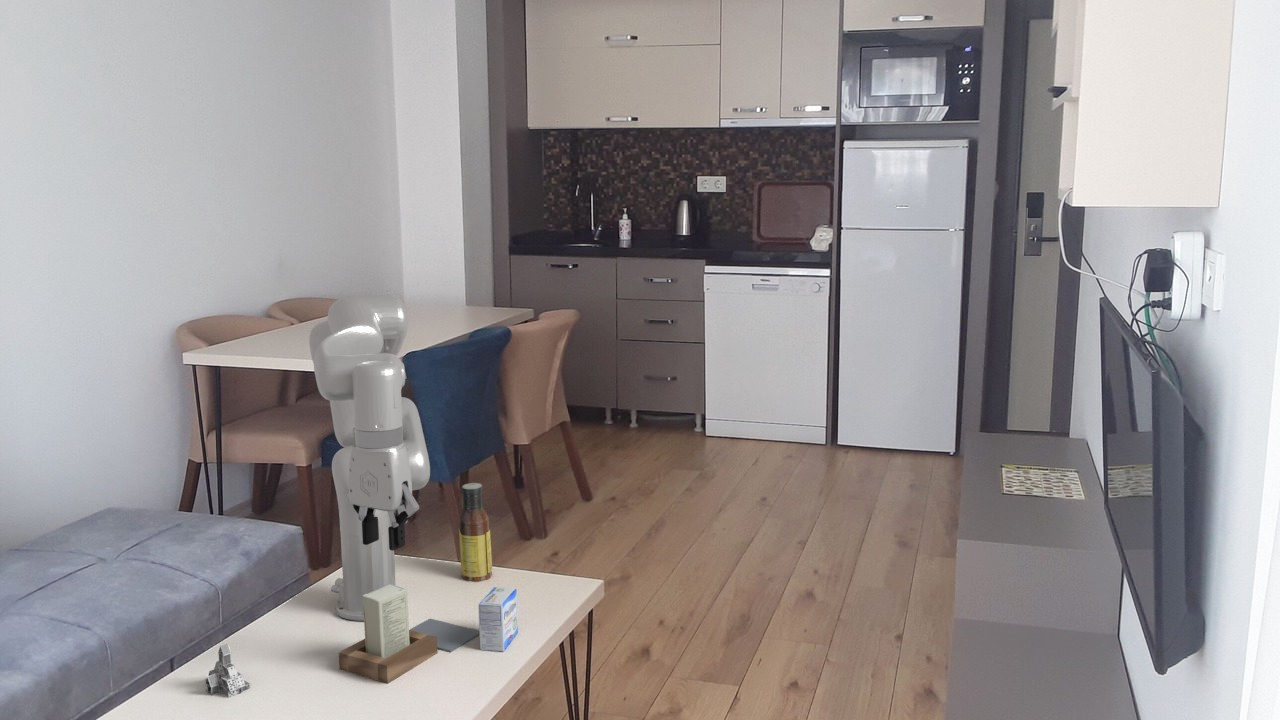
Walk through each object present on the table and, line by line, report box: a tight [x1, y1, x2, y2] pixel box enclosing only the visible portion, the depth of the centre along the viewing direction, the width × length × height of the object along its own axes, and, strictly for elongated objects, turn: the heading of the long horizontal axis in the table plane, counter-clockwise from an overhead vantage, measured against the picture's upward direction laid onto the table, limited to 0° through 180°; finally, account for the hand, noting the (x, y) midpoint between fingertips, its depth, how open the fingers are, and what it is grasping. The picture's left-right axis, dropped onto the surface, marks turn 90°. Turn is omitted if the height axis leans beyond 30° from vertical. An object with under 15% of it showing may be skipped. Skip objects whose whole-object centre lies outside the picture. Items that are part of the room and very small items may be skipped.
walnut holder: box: [338, 629, 439, 684], centre depth 176 cm, size 10×12×3 cm
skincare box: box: [363, 584, 410, 658], centre depth 176 cm, size 6×4×12 cm
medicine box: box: [478, 586, 519, 652], centre depth 183 cm, size 8×4×9 cm, turn 168°
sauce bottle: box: [458, 482, 493, 583], centre depth 211 cm, size 7×6×20 cm
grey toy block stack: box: [205, 642, 252, 698], centre depth 166 cm, size 9×9×8 cm
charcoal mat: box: [409, 618, 480, 653], centre depth 186 cm, size 12×9×1 cm
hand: (384, 544), depth 173 cm, fingers open, 5 cm apart
